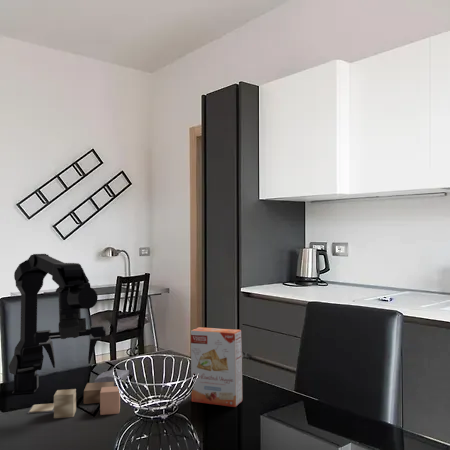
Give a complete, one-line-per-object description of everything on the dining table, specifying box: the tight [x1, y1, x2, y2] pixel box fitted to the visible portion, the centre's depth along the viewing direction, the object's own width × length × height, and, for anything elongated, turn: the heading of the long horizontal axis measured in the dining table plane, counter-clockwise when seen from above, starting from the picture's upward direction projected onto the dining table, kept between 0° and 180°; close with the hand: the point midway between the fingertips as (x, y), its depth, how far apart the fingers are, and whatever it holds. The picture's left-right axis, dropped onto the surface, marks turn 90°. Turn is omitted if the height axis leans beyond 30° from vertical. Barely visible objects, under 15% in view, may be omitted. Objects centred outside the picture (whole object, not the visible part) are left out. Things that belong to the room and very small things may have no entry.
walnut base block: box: [83, 382, 114, 405], centre depth 144 cm, size 8×8×4 cm
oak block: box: [53, 388, 77, 419], centre depth 131 cm, size 5×5×6 cm
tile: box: [27, 402, 54, 415], centre depth 136 cm, size 7×7×1 cm
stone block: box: [93, 369, 130, 386], centre depth 160 cm, size 12×5×10 cm
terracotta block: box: [99, 386, 121, 416], centre depth 133 cm, size 5×5×6 cm
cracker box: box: [190, 326, 243, 408], centre depth 139 cm, size 14×6×21 cm, turn 68°
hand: (71, 365), depth 132 cm, fingers open, 9 cm apart
